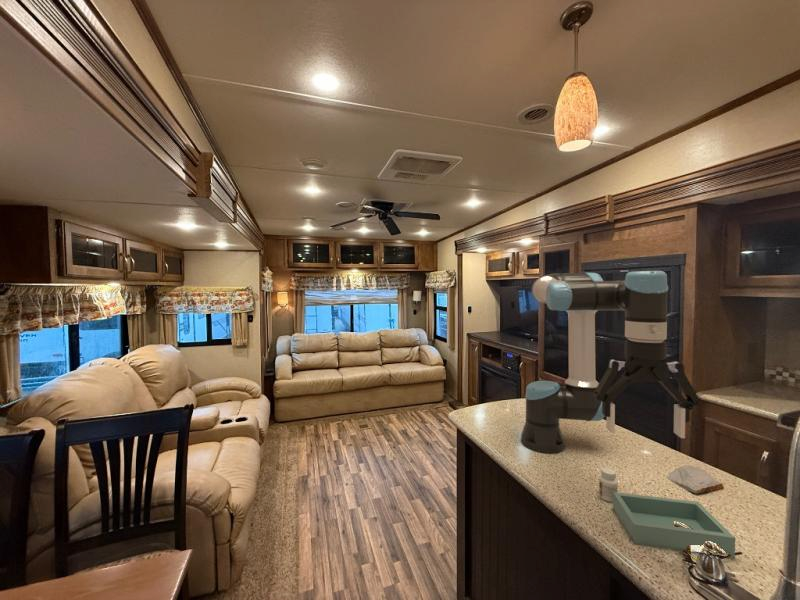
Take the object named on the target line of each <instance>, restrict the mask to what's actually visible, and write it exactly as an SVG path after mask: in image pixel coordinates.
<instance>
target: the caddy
mask: <svg viewBox="0 0 800 600" xmlns="http://www.w3.org/2000/svg"><path fill="white" fill-rule="evenodd" d="M612 510H613V511H614V513H615V514H616V516H617V518H618V520H619V521H620V522H621V524H622V526H623V528H624V529H625V532H627V534H628V537H629V538H630V540H631V541H632V543H633V544H634V545H639V546H640V545H641V546H646V547H654V548H659V549H661V548H662V549H668V550H674V551H681V552H685V551H684V550H685V549H686V547H687V546H690V545H700V546H701V545H703V544H704V542H705V541H711V542H713V543H716V544H717V545H718V546H719V547H720V548H721V549H723V550H724V551H725V552H726V553H728V554H730V555H731V556H730V557H729V558H730V559H736V537H735V536H734V535H733V534H732V533H731V532H730V531H729V530H728V529H726V528H725V527H724V525H722V524H721V523H720V521H719V520H717V518H715V517H714V516H713V515H712V514H711V513H710V512H709V511H708V510H707V508H705V507H704V506H703V504H701V503H700V502H699V501H693V500H686V499H685V500H684V499H676V498H668V497H667V498H666V497H660V496H651V495H641V494H633V493H632V494H631V493H625V492H618V493H617V492H613V502H612ZM674 521H679V522H681V523H684V524H686V525H688V526H690V527H691V528H693V529H690V528H683V527H675V526H674V524H673V522H674ZM729 558H728V559H729Z"/></svg>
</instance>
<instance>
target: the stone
mask: <svg viewBox="0 0 800 600" xmlns="http://www.w3.org/2000/svg"><path fill="white" fill-rule="evenodd" d="M667 476H668V477H667V480H669V481H671V482H672V483H673V484H675V485H677V486H678V487H680V488H682V489H684V490H685V491H687V492H692V493H693V494H703V493H709V492H715V491H720V490H724V488H725V486H724V485H723V483H722V482H721V481H719V480H717V479H715V477H714V476H712V475H711V474H709V473H708V472H707V471H706V470H705V469H703V468H700V467H696V466H693V465H683V466H679V467H677V468H674V470H673V471H671V472H669V473H668V474H667Z"/></svg>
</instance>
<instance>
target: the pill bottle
mask: <svg viewBox="0 0 800 600" xmlns="http://www.w3.org/2000/svg"><path fill="white" fill-rule="evenodd" d="M600 472H601V473H600V474H601V475H600V476H599V478H598V480H599V481H598V482H599V485H598V486H599V487H598V489H599V491H598V492H599V493H598V494H599V497H600V498H601V499H602V500H604V501H605V502H609V503H613V492H617V493H619V492H618V491H619V490H618V489H619V488H618V487H619V485H618V483H619V482H618V480H617V479H616V478H617V473H616V471H615V470H614V469H612V468H609V467H602V468H601V471H600Z"/></svg>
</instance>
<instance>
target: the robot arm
mask: <svg viewBox="0 0 800 600" xmlns="http://www.w3.org/2000/svg"><path fill="white" fill-rule="evenodd" d="M668 293H669V285H668V275H667V273H666V272H665V271H662V270H644V271H643V270H641V271H639V270H638V271H628V272H627V273H626V275H625V279H623V280H603V278H602V276H601V274H599V273H597V272H587V271H586V272H566V273H564V272H563V273H559V272H558V273H557V272H556V273H550V274H545V275H543V276H540V277H539V278H536V279H535V280H534V282H533V283H532V286H531V294H532V296H533V299H535V300H536V301H538V302H539V303H542V304H546V306H547V308H548V309H549V310H551V311H560V312H566V313H567V317H568V324H567V325H568V377H567V379H565V380H564V386H560V384H559V382H556V381H553V380H537V381H532V382H529V383H528V385H527V386H526V388H525V396H524V397H525V423H524V426H523V428H522V431H521V434H520V442H521V444H522V443H523V444H522V446H524V447H526V448H527V449H528V450H532V451H533V452H534V451H535V452H537V453H542V454H558V453H561V452H563V451H564V450H565V447H566V445H565V438H564V436H563V432H562V430H561V427H560V420H563V419H564V420H572V421H573V420H574V421H585V422H591V421H592V422H599V421H602V420H603V419H604V418H606V420H605V421H606V426H605V427H606V429H607V430H608V431H609V432H610V433H612V434H615V431H616V428H615V427H616V423H615V420H616V415H615V414H616V410H615V409H616V405H615V403H613V401H614V400H615V399H616V398H618V396H619V395H620V394H622V393H623V391H625V390H626V389H627V388H628V387H629V386H630V385H631V384H633V383H635V381H637V382H638V383H639V382H640V383H641V382H642V383H644V382H649V383H656V382H658V383H659V384H660V386H662V387H663V388H664V390H666V391H667V393H669V394H670V396H671V397H672V399H673V398H674V400H675V401H676V402H677V403H678V404H673V433H674V434H675V436H677V437H679V438H680V439H686V423H689V422H690V420H691V419H690V417H691V416H690V415H691V413H690V412H691V410H693V409H694V407H695V406H697V407H699V406H701V405H702V402H701V400H700V398H699V396H698V395H697V393H696V391H695V389H694V388H693V385H692V384H691V382H690V381H689V379H688V377H687V375H686V374H685V366H684V364H683V363H681V362H678V361H676V360H672V361H671V362H667V361H666V360H667V353H668V352H667V347H668V346H667V345H668V344H667V343H666V342H665V340H667V336H668V332H667V331H668V329H667V328H668ZM598 311H624V337H625V338H626V339H625V341H624V360H623V361H621V360H615V359H613V358H610V359H608V364H607V365H608V366H607V369H606V371H605V372H604V374H603V376H602V378H601V380H600V381H599V382H598V381H597V380H596V378H597V377H596V375H597V374H596V320H595V319H596V313H597V312H598ZM622 368H624V371H625V372H623V373H622V374H621V377H620V378H618V380H616V382H615V383H614V384H613V385H612V383H613V381H614V380H615V378H616V376H617V375H618V373H619V371H621V369H622ZM668 370H669V371H670V372H672V374H673V376H674V378H675V380H676V381H677V383H678V385H679V387H680V389H681V391H682V393H683V394H684V395H683V394H682V393H681V392H680V391H679V390H678V389H677V388H676V387H675V386H674V384H672V383H671V381H670V380H669V379H668V378H667V377H666V376H665V375H664V374H665V373H666V372H667V371H668ZM611 385H612V386H611Z"/></svg>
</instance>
